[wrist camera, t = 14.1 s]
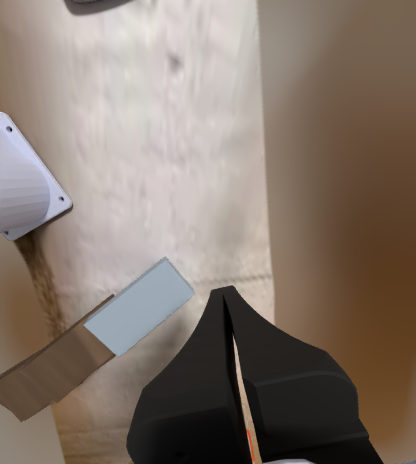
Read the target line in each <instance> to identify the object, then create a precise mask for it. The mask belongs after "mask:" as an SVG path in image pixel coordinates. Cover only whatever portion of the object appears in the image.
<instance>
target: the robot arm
mask: <svg viewBox="0 0 416 464" xmlns="http://www.w3.org/2000/svg"><path fill="white" fill-rule="evenodd" d="M10 128H12V132H11V131H10ZM61 197H63V198H64V201H62V199H61ZM71 206H72V202H71V200H70V199H69V197H68V196H67V195H66V193H65V192H64V191H63V189H62V188H61V186H60V185H59V184H58V182H57V181H56V180H55V178H54V177H53V176H52V174H51V173H50V171H49V170H48V169H47V167H46V166H45V165H44V163H43V162H42V161H41V159H40V158H39V157H38V155H37V154H36V152H35V151H34V150H33V148H32V147H31V146H30V144H29V143H28V142H27V140H26V139H25V137H24V136H23V135H22V133H21V132H20V131H19V129H18V128H17V127H16V125H15V124H14V122H13V121H12V120H11V118H10V117H9V116H8V115H7V114H5V113H3V112H0V233H2V234H3V235H4V236H5V237H6V238H7V239H8V240H10V241H13V240H16V239H18V238H20V237H21V236H23V235H25V234H26V233H28V232H30V231H31V230H33V229H35V228H36V227H38V226H40V225H42V224H43V223H45V222H47V221H48V220H50V219H52V218H53V217H55V216H57V215H59V214H60V213H62V212H64V211H65V210H67V209H69V208H70V207H71ZM7 231H8V232H9V233H8V232H7ZM233 336H234V339H235V342H236V346H237V350H238V356H239V362H240V368H241V374H242V380H243V384H244V388H245V392H246V396H247V400H248V404H249V408H250V412H251V416H252V420H253V424H254V428H255V433H256V438H257V443H258V447H259V452H260V457H261V460H262V464H384V463H383V462H382V460H381V458H380V457H379V455H378V454H377V452H376V451H375V449H374V447H373V446H372V444H371V443H370V441H369V439H368V438H369V434H368V432H367V430H366V429H365V427H364V426H363V424H362V422H361V421H360V419H359V412H358V394H357V389H356V387H355V385H354V384H353V383H352V381H351V379H350V378H349V377H348V375H347V374H346V373H345V371H344V370H343V369H342V368H341V367H340V366H339V364H338V363H337V362H336V361H335V360H334V359H333V358H332V357H331V356H330V355H329V354H328V353H327V352H326V351H324V350H321V349H319V348H317V347H314V346H312V345H309V344H307V343H304V342H302V341H300V340H298V339H296V338H294V337H292V336H290V335H289V334H287V333H285V332H284V331H282V330H280V329H278V328H277V327H275V326H274V325H273V324H271V323H270V322H268V321H267V320H266V319H264V318H263V317H262V316H261V315H259V314H258V313H257V312H256V311H255V310H254V309H253V308H252V307H251V306H250V305H249V304H248V303H247V302H246V301H245V300H244V299H243V298H242V297H241V295H240V294H239V293H238V291H237V290H236V288H235V287H234V286H233V285H231V286H227V287H222V288H218V289H213V290H212V291H211V293H210V297H209V300H208V303H207V305H206V308H205V310H204V312H203V315H202V317H201V319H200V321H199V323H198V325H197V326H196V328H195V330H194V332H193V333H192V335H191V336H190V338H189V339H188V341H187V342H186V344H185V345H184V347H183V348H182V349H181V350H180V352H179V353H178V354H177V355H176V357H175V358H174V359H173V360H172V361H171V362H170V363H169V364H168V365H167V367H166V368H165V369H164V370H163V371H162V372H161V373H160V374H159V375H158V376H156V377H155V378H154V379H153V380H152V381H151V382H150V383H149V384H148V385H147V386H146V387H145V388H143V390H142V393H141V396H140V398H139V401H138V403H137V406H136V409H135V412H134V416H133V419H132V423H131V426H130V429H129V433H128V436H127V445H126V447H127V450H128V453H129V455H130V457H131V459H132V461H133V463H134V464H253V462H252V457H251V452H250V446H249V441H248V435H247V430H246V425H245V419H244V414H243V408H242V403H241V397H240V392H239V386H238V380H237V373H236V363H235V352H234V342H233ZM397 464H416V460H413V461H408V462H402V463H397Z"/></svg>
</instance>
